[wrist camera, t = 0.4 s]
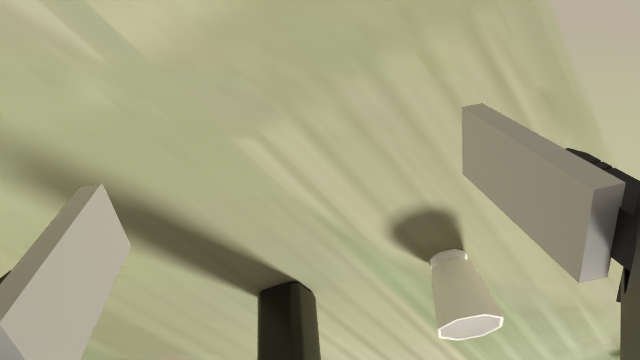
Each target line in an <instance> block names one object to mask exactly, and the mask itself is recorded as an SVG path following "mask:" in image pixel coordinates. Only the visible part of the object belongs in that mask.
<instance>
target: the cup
mask: <svg viewBox="0 0 640 360" xmlns="http://www.w3.org/2000/svg"><path fill="white" fill-rule="evenodd" d="M430 266H431V271H432V291H433V298H434V305H435V313H436V321H437V328H438V335H439V338H443V339H451V340H463V339H469V338H475V337H480V336H484V335H486V334H488V333H490V332H492V331H494V330H496V329H498V328H500V327H502V323H503V318H504V317H503V315H502V313H501V312H500V310H499V308H498V306H497V304H496V303H495V301H494V299H493V297H492V296H491V294H490V292H489V290H488V288H487V286H486V285H485V283H484V281H483V279H482V277H481V276H480V274H479V273H478V271H477V270H476V269H475V267H474V266H473V264H472V263H471V261H469V260H467V254H466V251H462V250H458V249H451V250H446V251H441V252H439V253H437V254H436V255H434V256H433V257H432V258H430Z"/></svg>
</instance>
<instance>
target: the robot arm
mask: <svg viewBox="0 0 640 360" xmlns="http://www.w3.org/2000/svg"><path fill="white" fill-rule="evenodd" d="M462 155H463V175H464V176H465V177H467V178H468V179H469V180H470V181H471V182H472V183H473V184H474V185H475V186H476V187H477V188H478V189H479V190H480V191H481V192H483V193H484V194H485V195H486V196H487V197H488V198H489V199H490V200H491V201H492V202H493V203H494V204H495V205H496V206H497V207H498V208H500V209H501V210H502V211H503V212H504V213H505V214H506V215H507V216H508V217H509V218H510V219H511V220H512V221H513V222H514V223H515V224H517V225H518V226H519V227H520V228H521V229H522V230H523V231H524V232H525V233H526V234H527V235H528V236H529V237H530V238H531V239H533V240H534V241H535V242H536V243H537V244H538V245H539V246H540V247H541V248H542V249H543V250H544V251H545V252H546V253H547V254H548V255H550V256H551V257H552V258H553V259H554V260H555V261H556V262H557V263H558V264H559V265H560V266H561V267H562V268H563V269H564V270H565V271H567V272H568V273H569V274H570V275H571V276H572V277H573V278H574V279H575V280H576V281H577V282H578V283H583V282H587V281H592V280H596V279H600V278H604V277H607V276H608V271H609V266H610V261H611V257H612V258H613V259H614V260H616V261H617V262H618V263H620V264H621V265H622V266H623V272H622V277H621V281H620V286H619V291H618V295H617V300H616V301H617V302H621V343H620V360H640V181H639V180H637V179H635V178H633V177H631V176H629V175H627V174H625V173H624V172H622V171H620V170H618V169H616V168H612V166H610V165H609V164H607V163H605V162H601V160H599V159H597V158H595V157H593V156H592V155H590V154H588V153H585V152H581V151H578V150H574V149H570V148H566V149H564V148H562V147H560V146H559V145H557V144H555V143H553V142H551V141H550V140H548V139H546V138H544V137H542V136H540V135H539V134H537V133H535V132H533V131H531V130H530V129H528V128H526V127H524V126H522V125H521V124H519V123H517V122H515V121H513V120H512V119H510V118H508V117H506V116H504V115H502V114H501V113H499V112H497V111H495V110H493V109H492V108H490V107H488V106H486V105H484V104H483V103H481V104H476V105H471V106H466V107H462ZM130 247H131V245H130V243H129V241H128V238H127V236H126V234H125V232H124V230H123V227H122V225H121V223H120V221H119V219H118V217H117V214H116V212H115V210H114V208H113V206H112V203H111V201H110V199H109V197H108V195H107V192H106V190H105V188H104V186H103V184H102V183H97V184H92V185H88V186H83V187H80V188H79V189H78V190H77V191H76V192H75V194H74V195H73V196H72V197H71V199H70V200H69V201H68V202H67V203H66V205H65V206H64V207H63V208H62V210H61V211H60V212H59V213H58V214H57V216H56V217H55V218H54V219H53V221H52V222H51V223H50V224H49V225H48V227H47V228H46V229H45V230H44V232H43V233H42V234H41V235H40V236H39V238H38V239H37V240H36V241H35V242H34V244H33V245H32V246H31V247H30V249H29V250H28V251H27V252H26V253H25V255H24V256H23V257H22V258H21V260H20V261H19V262H18V263H17V264H16V266H15V267H14V268H13V269H12V270H11V271H9V272H8V273H6V274H5V275H4V276H3V277H1V278H0V360H80V358H81V356H82V354H83V352H84V349H85V347H86V345H87V343H88V340H89V338H90V336H91V334H92V332H93V329H94V327H95V325H96V323H97V321H98V318H99V316H100V314H101V312H102V309H103V307H104V305H105V303H106V301H107V298H108V296H109V294H110V292H111V289H112V287H113V285H114V283H115V281H116V278H117V276H118V274H119V272H120V269H121V267H122V265H123V263H124V261H125V258H126V256H127V254H128V252H129V249H130Z"/></svg>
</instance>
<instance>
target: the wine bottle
mask: <svg viewBox="0 0 640 360" xmlns="http://www.w3.org/2000/svg"><path fill="white" fill-rule="evenodd" d="M257 360H321V356H320V345H319V333H318V322H317V311H316V299H315V296H314V294H312V293H311V292H309V291H308V290H307V289H305V288H304V287H303V286H301V285H300V284H298V283H295V282H291V283H287V284H284V285H281V286H278V287H275V288H272V289H269V290H266V291H263V292H261V293H259V295H258V358H257Z"/></svg>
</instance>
